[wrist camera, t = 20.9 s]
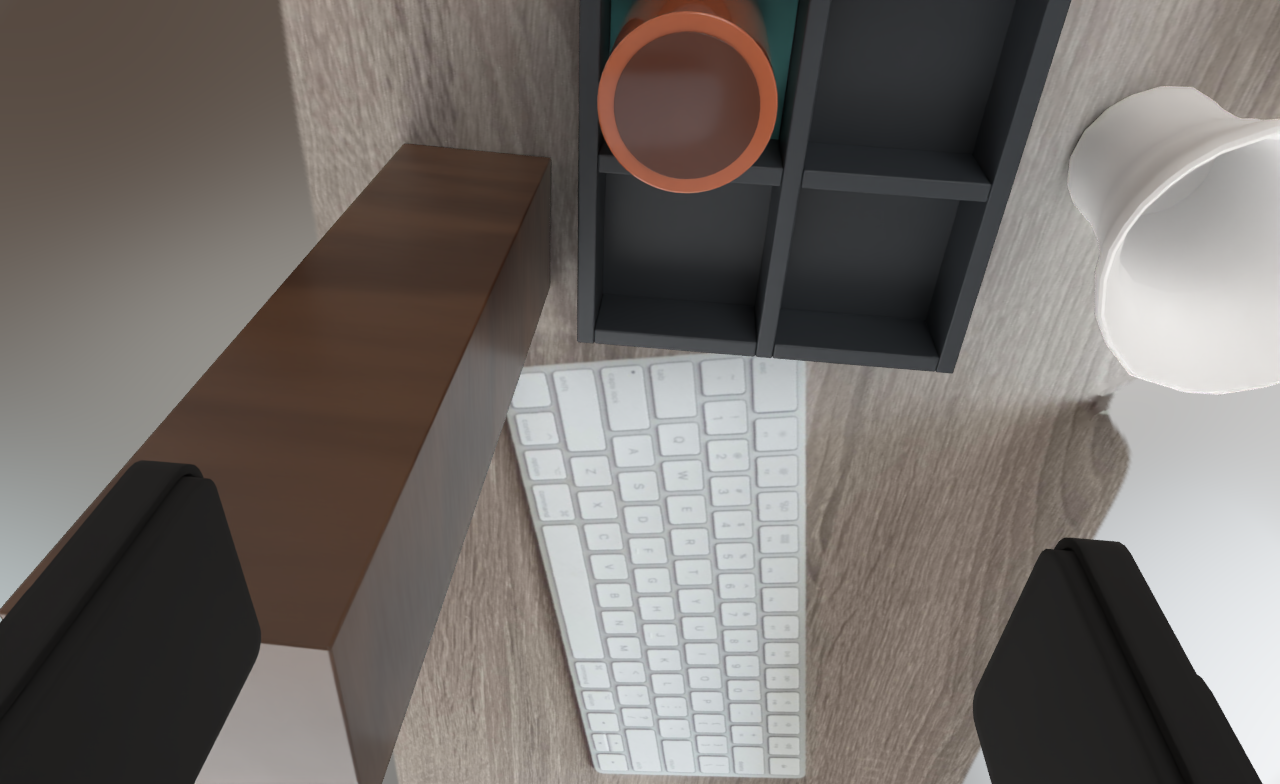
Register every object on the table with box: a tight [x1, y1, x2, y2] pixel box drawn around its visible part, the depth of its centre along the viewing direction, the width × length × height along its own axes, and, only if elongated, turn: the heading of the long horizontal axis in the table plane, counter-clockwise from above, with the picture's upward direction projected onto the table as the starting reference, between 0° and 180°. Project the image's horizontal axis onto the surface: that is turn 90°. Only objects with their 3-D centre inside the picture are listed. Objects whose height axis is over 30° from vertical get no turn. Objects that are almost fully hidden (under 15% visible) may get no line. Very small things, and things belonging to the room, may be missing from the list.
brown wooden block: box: [0, 144, 551, 784], centre depth 27 cm, size 6×6×24 cm
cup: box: [1067, 86, 1280, 394], centre depth 28 cm, size 9×9×10 cm
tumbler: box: [597, 0, 778, 193], centre depth 28 cm, size 5×5×8 cm
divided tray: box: [577, 0, 1071, 373], centre depth 32 cm, size 15×15×4 cm
